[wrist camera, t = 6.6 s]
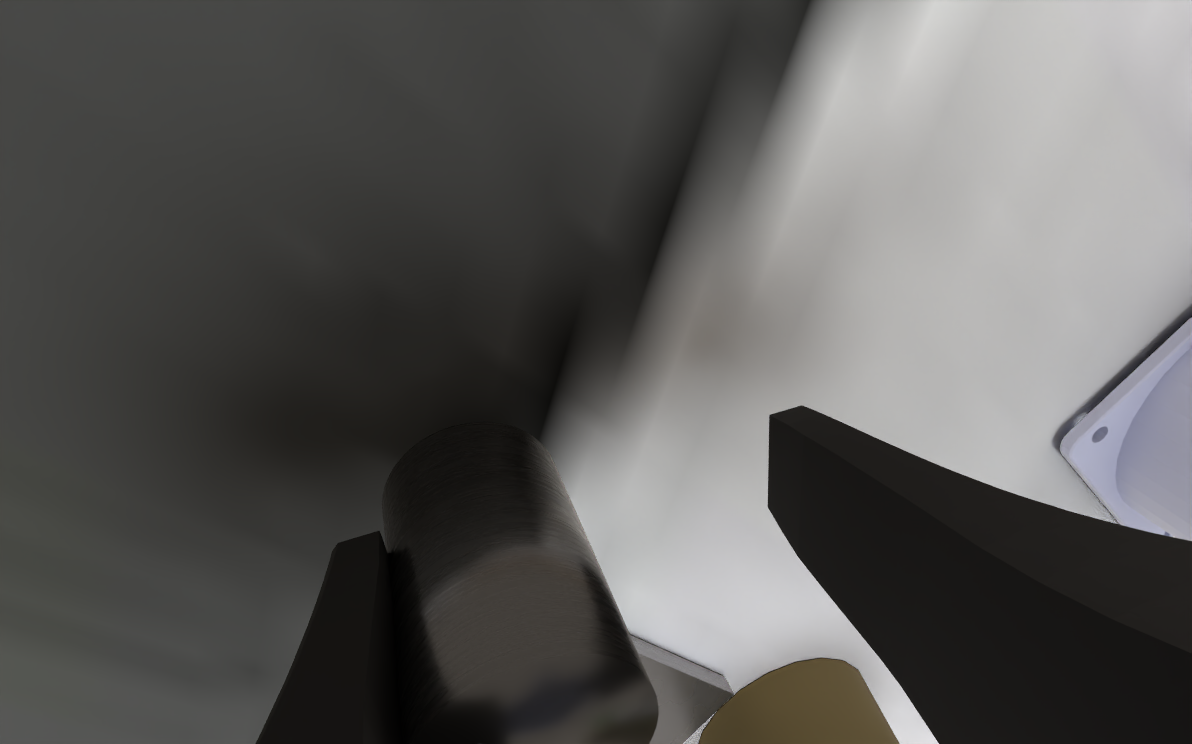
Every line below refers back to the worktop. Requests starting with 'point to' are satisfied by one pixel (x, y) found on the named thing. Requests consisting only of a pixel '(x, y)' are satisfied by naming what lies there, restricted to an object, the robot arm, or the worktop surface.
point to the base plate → (680, 692)
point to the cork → (802, 709)
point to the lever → (503, 602)
